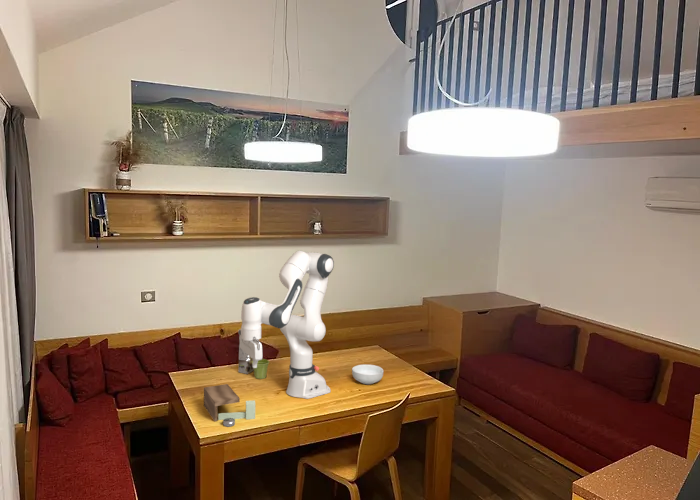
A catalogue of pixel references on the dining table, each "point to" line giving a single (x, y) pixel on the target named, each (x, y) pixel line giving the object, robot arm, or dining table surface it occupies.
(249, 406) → the sage paddle
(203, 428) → the dining table surface
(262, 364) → the plant pot
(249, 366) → the coffee box
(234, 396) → the walnut shelf
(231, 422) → the steel puck
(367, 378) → the cereal bowl
